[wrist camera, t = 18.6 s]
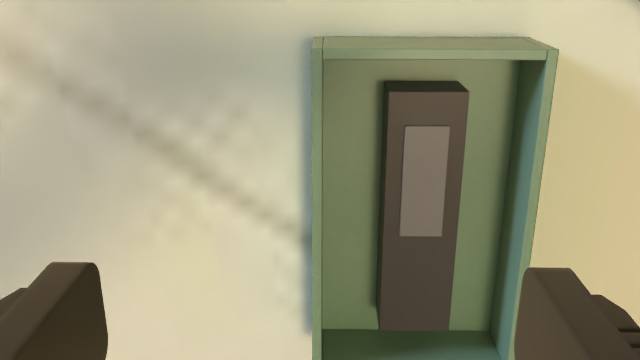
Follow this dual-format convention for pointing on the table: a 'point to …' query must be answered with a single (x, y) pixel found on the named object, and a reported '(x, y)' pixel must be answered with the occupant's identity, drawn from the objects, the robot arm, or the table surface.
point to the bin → (475, 201)
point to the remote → (419, 202)
